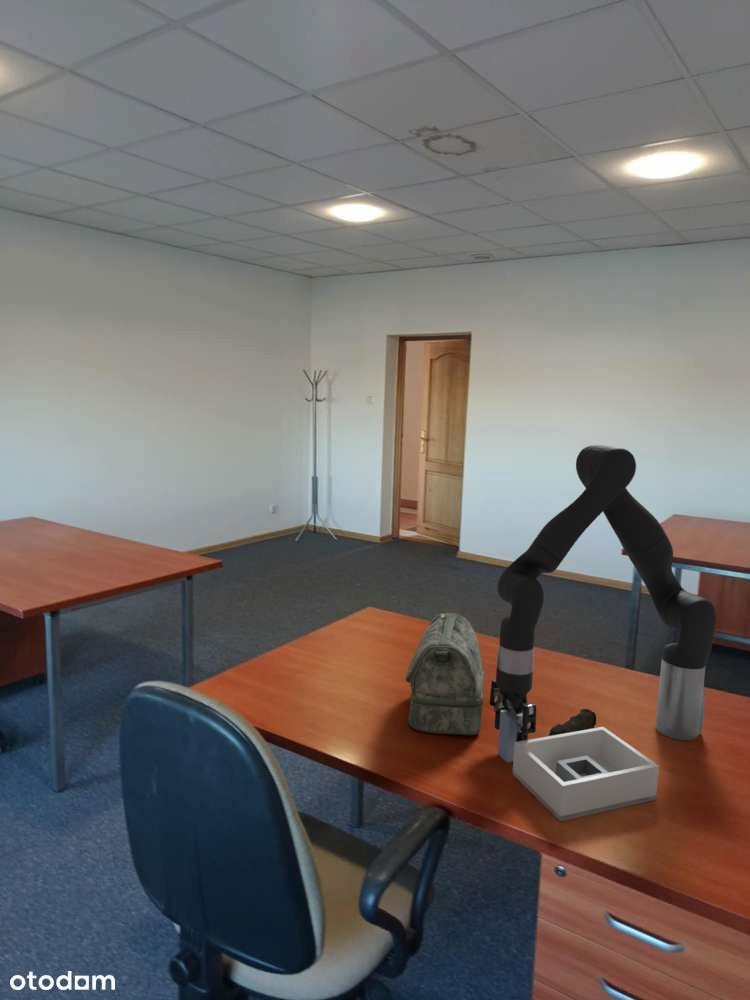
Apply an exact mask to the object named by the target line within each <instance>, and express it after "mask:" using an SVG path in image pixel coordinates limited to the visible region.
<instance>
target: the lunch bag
mask: <svg viewBox="0 0 750 1000" xmlns="http://www.w3.org/2000/svg"><path fill="white" fill-rule="evenodd" d="M438 614H439V615H435V616H434V618H433V619H432V620H431V622H430V623H429V624H428V627H427V629H426V630H425V631H424V633H423V635H422V637H421V638H420V640H419V643H418V644H417V647H416V649H415V652H414V654H413V657H412V659H411V661H410V663H409V666H408V670H407V671H406V677H405V681H406V683H409V684H410V690H411V693H410V694H411V695H410V707H409V712H408V725H409V727H411V728H413V729H414V730H415V731H416V730H417V731H420V732H421V733H430V734H441V735H442V734H443V735H456V736H457V735H458V736H475V735H478V734H480V731H481V729H482V715H483V713H482V712H483V704H484V685H485V676H484V675H485V671H484V667H483V663H482V652H481V649H480V644H479V640H478V636H477V635H476V631H475V630H474V628H473V626H472V625H471V623H470V621H468V619H467V618H466V617H464V616H462V615H461V614H458V613H454V612H448V613H443V612H440V613H438Z"/></svg>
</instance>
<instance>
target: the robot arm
mask: <svg viewBox="0 0 750 1000" xmlns="http://www.w3.org/2000/svg"><path fill="white" fill-rule="evenodd" d="M636 469H637V462H636V458H635V456H634V455H633V453H632V452H631V451H629V450H628V449H625V448H623V447H619V446H618V447H617V446H613V445H612V446H610V445H605V444H604V445H603V444H595V445H594V444H592V445H588V446H585V447H584V448H582V449H581V450H580V451H579V453H578V455H577V457H576V461H575V470H576V473H577V477H578V479H579V481H580V482H581V484H582V485H583V486H584V488H585V489H584V490H583V491H582V493H581V494H580V495H579V496H578V497H577V498H576V499H575V500H574V501H572V503H570V504H569V505H568V506H567V507H565V508H564V509H563V510H561V511H560V512H559V513H557V514H556V515H554V517H552V518H551V519H550V520H548V522H547V523H546V524H545V525H544V526H543V528H542V529H541V530H540V531H539V533H538V534H537V536H536V537H535V538H534V539H533V541H532V543H531V544H530V545H529V547H528V548H527V550H525V552H523V553H522V554H521V555H519V556H518V557H517V558H515V560H514V561H513V562H512V563H511V564H510V565H508V567H506V569H504V571H503V572H502V573H501V575H500V577H499V579H498V582H497V587H496V588H497V593H498V596H500V598H501V599H502V600H504V602H506V603H508V604H509V605H511V611H510V615H506V616H505V617H503V618H502V620H501V622H500V631H499V643H498V649H497V650H498V651H497V654H496V655H497V657H496V668H495V669H496V672H495V680H494V679H493V680H491V683H490V684H491V685H490V694H489V697H490V698H489V705H490V706H491V707H493V711H494V712H495V715H494V729H495V730H498V731H499V728H500V711H501V710H507V711H508V712H509V713H510V714H511V717H512V720H513V721H514V722H515V724H516V727H517V737H516V742H519V741H525V740H529V734H534V733H536V731H537V730H536V727H537V705H536V703H532V704H530V703H529V702H528V697H527V695H528V693H529V692H530V691H531V690H532V689H533V676H534V660H535V655H534V654H535V653H534V645H535V644H534V643H535V629H536V626H537V624H538V621H539V618H540V614H541V611H542V609H543V605H544V600H545V596H544V595H545V594H544V588H543V586H542V584H541V582H540V581H539V580H538V578H539V577H540V576H541V575H543V574H551V573H554V572H555V571H557V569H558V568H559V566H560V565H561V563H563V561H564V560H565V557H566V556H567V555H568V553H569V552H570V550H571V549H572V548H573V546H574V545H575V543H576V542H577V541H578V540H579V538H580V537H581V535H583V533H584V532H585V531H586V530H587V529H588V528H589V527H590V526H591V524H592V523H593V522H594V521H595V520H596V519H597V518H598V517H599V516H600V515H602V513H603V515H604V516H605V519H606V520H607V522H608V523H609V525H610V527H611V529H612V530H613V531H614V534H615V535H616V537H617V539H618V541H619V542H620V545H621V547H622V549H624V552H625V554H626V555H627V557H628V559H629V560H630V562H631V563H632V565H633V566H634V568H635V570H636V572H637V573H638V576H639V577H640V579H641V581H642V583H643V584H644V585H645V587H646V589H647V591H648V593H649V595H650V596H649V597H651V600H652V603H653V605H654V608H655V610H656V612H657V615H658V616H659V618H660V620H661V621H662V623H664V625H665V626H667V627H668V628H671V629H672V630H674V631H677V632H679V637H678V640H677V641H678V642H674V643H673V642H672V643H668V644H667V643H666V645H664V646H663V648H662V653H661V665H660V673H659V683H658V685H659V686H658V694H657V695H658V696H657V704H656V715H655V725H654V726H655V730H656V731H657V732H658V733H660V734H661V735H663V736H665V737H668V738H669V739H674V740H678V741H685V740H688V741H694V740H696V739H698V738H699V734H700V735H702V734H703V723H704V714H705V704H706V695H705V694H704V684H705V676H706V674H705V673H706V666H707V660H708V658H709V657H710V654H711V651H712V647H713V643H714V641H713V640H714V636H715V635H714V634H715V630H716V623H717V612H716V608H715V606H714V604H713V603H712V602H711V601H710V600H709V599H706V598H705V597H702V596H699V595H696V594H694V593H691V592H689V591H687V590H686V589H684V588H683V587H682V585H681V584H680V582H679V581H678V580H677V577H676V576H675V575H674V571H673V568H672V566H673V561H674V549H673V546H672V543H671V540H670V539H669V537H668V535H667V534H666V532H665V530H664V528H663V526H662V525H661V523H660V522H659V521H658V519H657V518H656V517H655V516H654V515H653V514H652V513H651V512H650V511H649V510H648V509H647V508H646V507H644V505H643V504H642V503H640V502H639V500H637V499H636V498H635V497H634V496H633V495H632V494H631V493H630V492H629V490H628V489H627V487H628V486H629V485H630V484H631V482H632V480H633V478H634V477H635V474H636V471H637V470H636ZM496 697H497V699H496ZM521 713H522V714H523V716H517V715H516V714H521ZM521 720H522V726H521V723H520V721H521Z"/></svg>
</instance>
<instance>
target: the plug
mask: <svg viewBox="0 0 750 1000" xmlns="http://www.w3.org/2000/svg"><path fill="white" fill-rule="evenodd" d="M516 715H517V716H523V713H521V714H516ZM520 723H521V726H522V720H521V721H520ZM516 737H517V727H516V724H515V722H514V721H513V720H512V717H511V714H510V713H509V712H508V711H507V710H501V711H500V728H499V730H498V745H497V746H498V748H497V749H498V750H497V755H498V756H499V757H500V758H502V760H503V761H504V762H505V763H507V764H508V763H511V762H513V761H514V745H515V742H516Z"/></svg>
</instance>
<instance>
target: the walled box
mask: <svg viewBox="0 0 750 1000" xmlns="http://www.w3.org/2000/svg"><path fill="white" fill-rule="evenodd" d="M659 770H660V766H659V764H657V763H656V762H654V761H653V760H651V759H650V758H649V757H647V756H646V755H644V754H643V753H642V752H640V751H639V750H637V749H636V748H634V747H633V746H631V745H630V744H628V743H627V742H626V741H624V740H623V739H622V738H620V737H619V736H617V735H616V734H615V733H613V732H611V731H610V730H609V729H607V728H606V727H604V726H599V727H594V728H593V727H592V728H586V729H585V730H582V731H576V732H570V733H565V734H559V735H553V736H549V735H548V736H544V737H537V738H532V739H528V740H525V741H519V742H515V745H514V761H513V764H512V776H513V777H515V778H516V780H518V781H519V782H520V783H521V785H523V786H524V787H525V788H526V789H527V790H528V791H529V792H530V793H531V794H532V795H533V796H534V797H535V798H536V799H537V800H538V801H539V802H540V803H541V804H542V805H543V807H545V808H546V809H547V810H548V811H549V812H550V813H551V814H552V815H553V816H554V818H555V819H557V820H558V821H559V822H565V821H568V820H569V821H570V820H574V819H578V818H582V817H587V816H592V815H596V814H600V813H605V812H608V811H612V810H616V809H622V808H625V807H629V806H635V805H638V804H642V803H646V802H651V801H656V800H657V792H658V783H659V782H658V780H659Z"/></svg>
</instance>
